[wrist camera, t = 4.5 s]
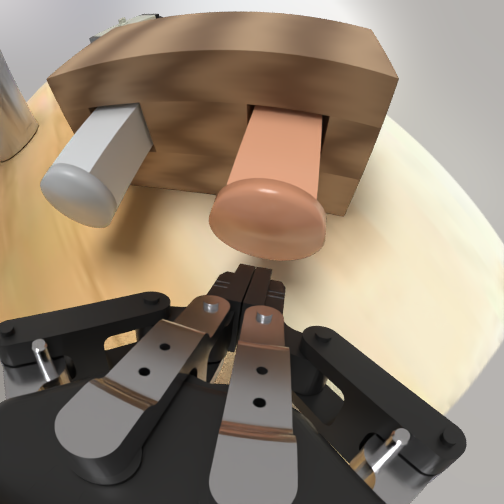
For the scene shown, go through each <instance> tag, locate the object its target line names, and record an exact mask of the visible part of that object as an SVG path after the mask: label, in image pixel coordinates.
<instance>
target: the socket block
mask: <svg viewBox="0 0 504 504" xmlns="http://www.w3.org/2000/svg"><path fill="white" fill-rule="evenodd" d="M398 80H399V78H398V76H397V74H396V72H395V70H394V68H393V66H392V64H391V62H390V61H389V59H388V57H387V55H386V53H385V51H384V50H383V48H382V46H381V45H380V43H379V41H378V40H377V38H376V36H375V35H374V33H373V32H372V30H371V29H367V28H363V27H359V26H355V25H351V24H347V23H342V22H337V21H332V20H327V19H321V18H315V17H308V16H301V15H292V14H282V13H267V12H209V13H196V14H185V15H178V16H170V17H163V18H157V19H151V20H146V21H141V22H136V23H132V24H127V25H123V26H119V27H115V28H114V29H112V30H110V31H109V32H107V33H106V34H104V35H103V36H101V37H100V38H98V39H97V40H95V41H94V42H92V43H91V44H90V45H88V46H87V47H85V48H84V49H82V50H81V51H80V52H79V53H77V54H76V55H75V56H73V57H72V58H71V59H69V60H68V61H67V62H66V63H64V64H63V65H62V66H61V67H60V68H58V69H57V70H56V71H55V72H54V73H53V74H51V75H50V76H49V77H48V78H47V81H48V84H49V86H50V88H51V90H52V92H53V94H54V96H55V98H56V100H57V102H58V104H59V106H60V108H61V110H62V112H63V114H64V116H65V118H66V120H67V122H68V123H69V125H70V127H71V129H72V131H73V133H74V134H75V133H76V132H77V131H78V129H79V128H80V127H81V126H82V124H83V123H84V122H85V121H86V120H87V118H88V117H89V116H90V115H91V114H92V113H93V112H94V110H95V109H96V108H97V107H99V106H108V105H117V104H128V103H140V106H141V109H142V112H143V115H144V118H145V121H146V124H147V127H148V130H149V132H150V135H151V138H152V141H153V146H152V147H151V149H150V150H149V152H148V154H147V155H146V157H145V159H144V160H143V162H142V164H141V166H140V167H139V169H138V171H137V173H136V174H135V176H134V178H133V180H132V182H131V184H130V185H137V186H147V187H157V188H166V189H175V190H184V191H192V192H200V193H207V194H215V195H217V194H218V192H219V191H220V190H221V189H222V188H223V187H225V186H226V185H227V182H228V179H229V176H230V173H231V171H232V168H233V165H234V162H235V159H236V156H237V154H238V151H239V148H240V145H241V142H242V140H243V137H244V134H245V132H246V129H247V126H248V124H249V121H250V118H251V116H252V113H253V110H254V108H255V105H261V106H270V107H278V108H285V109H292V110H299V111H305V112H311V113H316V114H322V132H321V150H320V166H319V179H318V192H317V201H318V202H319V203H320V204H321V206H322V207H323V209H324V211H325V213H330V214H335V215H340V216H344V215H345V213H346V210H347V208H348V206H349V204H350V202H351V199H352V197H353V195H354V193H355V190H356V188H357V186H358V184H359V181H360V179H361V177H362V174H363V172H364V169H365V167H366V165H367V162H368V160H369V157H370V155H371V153H372V150H373V148H374V145H375V143H376V140H377V138H378V135H379V132H380V130H381V127H382V125H383V122H384V119H385V117H386V114H387V111H388V108H389V106H390V103H391V100H392V97H393V94H394V91H395V89H396V86H397V83H398Z"/></svg>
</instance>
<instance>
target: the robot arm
mask: <svg viewBox="0 0 504 504" xmlns="http://www.w3.org/2000/svg"><path fill="white" fill-rule="evenodd" d="M37 128H38V123H37V121H36V119H35V118H34V116H33V114H32V112H31V111H30V109H29V107H28V105H27V103H26V101H25V100H24V98H23V96H22V94H21V92H20V90H19V88H18V86H17V84H16V82H15V80H14V78H13V76H12V74H11V72H10V70H9V68H8V66H7V64H6V62H5V59H4V57H3V55H2V52H1V50H0V161H5V160H8V159H9V158H11V157H12V156H14V155H15V154H16V153H17V152H19V151H20V150H21V149H22V148H23V147H24V146H25V145H26V144H27V143H28V141H29V140H30V139H31V138H32V136H33V135H34V134H35V132H36V130H37ZM271 274H272V270H271V269H266V268H261V267H255V266H250V265H244V264H240V265H239V267H238V268H237V270H236V272H235V273H232V272H225V273H223V274H221V275H219V277H218V278H217V280H216V281H215V283H214V285H213V286H212V288H211V289H210V291H209V292H208V294H207V295H203V296H199V297H196V298H195V299H194V300H193V301H192V302H191V303H190V304H189V305H188V306H187V307H173V306H170V299H169V297H168V296H166V295H165V294H162V293H159V292H143V293H138V294H134V295H129V296H125V297H120V298H115V299H111V300H106V301H101V302H96V303H92V304H87V305H82V306H77V307H72V308H68V309H63V310H58V311H53V312H48V313H43V314H38V315H33V316H28V317H23V318H17V319H12V320H7V321H4V322H1V323H0V362H1V364H2V366H3V370H4V371H3V372H4V384H5V396H6V400H5V401H3V402H1V403H0V504H410V503H411V502H412V501H413V500H414V499H415V498H416V497H417V495H418V494H419V493H420V492H421V491H422V490H423V489H424V487H425V486H426V485H427V484H428V483H430V482H431V481H432V480H434V479H435V478H436V477H437V476H438V475H440V474H441V473H442V472H443V471H444V470H445V469H447V468H448V467H449V466H450V465H451V464H452V463H454V462H455V461H456V460H457V459H458V458H459V457H460V456H461V455H462V454H463V453H464V451H465V449H466V438H465V435H464V433H463V432H462V430H461V429H460V428H459V427H458V426H456V425H455V424H454V423H452V422H451V421H450V420H448V419H447V418H446V417H445V416H443V415H442V414H441V413H439V412H438V411H437V410H435V409H434V408H433V407H431V406H430V405H429V404H428V403H426V402H425V401H424V400H422V399H421V398H420V397H418V396H417V395H416V394H415V393H413V392H412V391H411V390H409V389H408V388H407V387H405V386H404V385H403V384H402V383H400V382H399V381H398V380H396V379H395V378H394V377H393V376H391V375H390V374H389V373H387V372H386V371H385V370H384V369H382V368H381V367H380V366H378V365H377V364H376V363H375V362H373V361H372V360H371V359H370V358H368V357H367V356H366V355H364V354H363V353H362V352H361V351H359V350H358V349H357V348H356V347H354V346H353V345H352V344H350V343H349V342H348V341H347V340H345V339H344V338H343V337H342V336H340V335H339V334H338V333H336V332H335V331H333V330H332V329H329V328H326V327H322V326H311V327H308V328H306V329H305V330H304V331H303V333H301V332H299V331H296V330H294V329H292V328H290V327H289V326H287V325H286V324H285V322H284V317H283V306H284V297H285V286H284V285H283V283H282V282H280V281H275V280H270V279H271ZM132 330H136V338H137V342H135V343H132V344H128V345H125V346H121V347H117V348H114V349H110V350H106V351H105V350H104V342H105V340H106V339H107V338H108V337H110V336H113V335H117V334H121V333H125V332H129V331H132ZM236 345H237V348H236ZM235 348H236V355H235V360H234V365H233V370H232V375H231V379H230V384H214V382H215V380H216V378H217V376H218V374H219V372H220V370H221V368H222V366H223V364H224V357H225V356H226V354H227V351H231V352H234V351H235ZM327 379H329V380H330V381H331V382H332V383H333V384H334V385H336V386H337V387H338V388H339V389H340V390H341V391H342V393H343V395H344V401H343V400H342V399H341V398H340V397H339V396H338V395H337V394H336V393H335V392H334V391H333V390H332V389H331V388H330V387H329V386H328V385H326V381H327ZM292 403H293V404H294V405H295V406H296V407H297V408H298V409H299V411H300V412H301V413H300V412H299V411H298V410H296V409H294V408H293V407H292ZM330 444H331V445H332V446H333V447H334V448H335V449H336V450H337V451H338V452H339V453H340V455H341V456H342V457H343V458H344V459H345V460H346V461H347V462H348V463H349V464H350V465H349V464H348V463H347V462H346V461H345V460H344V459H343V458H342V457H341V456H340V455H339V454H338V452H337V451H336V450H335V449H334V448H333V447H332V446H331V445H330Z"/></svg>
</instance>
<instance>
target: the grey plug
mask: <svg viewBox="0 0 504 504" xmlns="http://www.w3.org/2000/svg"><path fill="white" fill-rule="evenodd" d="M152 146H153V141H152V138H151V135H150V132H149V130H148V127H147V124H146V121H145V118H144V115H143V112H142V109H141V106H140V103H128V104H117V105H108V106H99V107H97V108H96V109H95V110H94V112H93V113H92V114H91V115H90V116H89V117H88V118H87V120H86V121H85V122H84V123H83V124H82V126H81V127H80V128H79V129H78V131H77V132H76V133H75V134H74V136H73V137H72V138H71V140H70V141H69V142H68V144H67V145H66V146H65V148H64V149H63V150H62V152H61V153H60V154H59V156H58V157H57V159H56V160H55V162H54V163H53V165H52V166H51V167H50V168H49V170H48V171H47V173H46V174H45V176H44V177H43V179H42V181H41V183H40V187H41V190H42V193H43V195H44V196H45V198H46V199H47V200H48V201H49V202H50V204H51V205H52V206H54V207H55V208H56V209H57V210H58V211H60V212H61V213H62V214H64V215H65V216H67V217H68V218H70V219H72V220H74V221H76V222H78V223H81V224H83V225H86V226H90V227H94V228H104V227H107V226H108V225H109V224H110V223H111V220H112V218H113V216H114V214H115V212H116V211H117V209H118V207H119V205H120V203H121V201H122V199H123V197H124V195H125V193H126V191H127V189H128V187H129V185H130V184H131V182H132V180H133V178H134V176H135V174H136V173H137V171H138V169H139V167H140V166H141V164H142V162H143V160H144V159H145V157H146V155H147V154H148V152H149V150H150V149H151V147H152Z"/></svg>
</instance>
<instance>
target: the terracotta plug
mask: <svg viewBox="0 0 504 504" xmlns="http://www.w3.org/2000/svg"><path fill="white" fill-rule="evenodd" d="M321 132H322V114H316V113H311V112H305V111H299V110H292V109H285V108H278V107H270V106H261V105H255V108H254V110H253V113H252V116H251V118H250V121H249V124H248V126H247V129H246V132H245V134H244V137H243V140H242V142H241V145H240V148H239V151H238V154H237V156H236V159H235V162H234V165H233V168H232V171H231V173H230V176H229V179H228V182H227V185H226V186H225V187H223V188H222V189H221V190H220V191H219V192H218V194H217V195H216V198H215V201H214V204H213V207H212V210H211V213H210V216H209V224H210V227H211V229H212V231H213V232H214V234H215V235H216V236H217V237H218V238H219V239H220V240H221V241H223V242H224V243H225V244H227V245H228V246H230V247H232V248H234V249H236V250H238V251H240V252H242V253H245V254H248V255H251V256H254V257H258V258H263V259H269V260H281V261H286V260H297V259H302V258H306V257H309V256H311V255H313V254H315V253H316V252H318V251H319V250H320V249H321V248H322V246H323V245H324V242H325V234H326V220H327V218H326V213H325V211H324V209H323V207H322V206H321V204H320V203H319V202H318V201H317V192H318V179H319V166H320V150H321Z"/></svg>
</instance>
